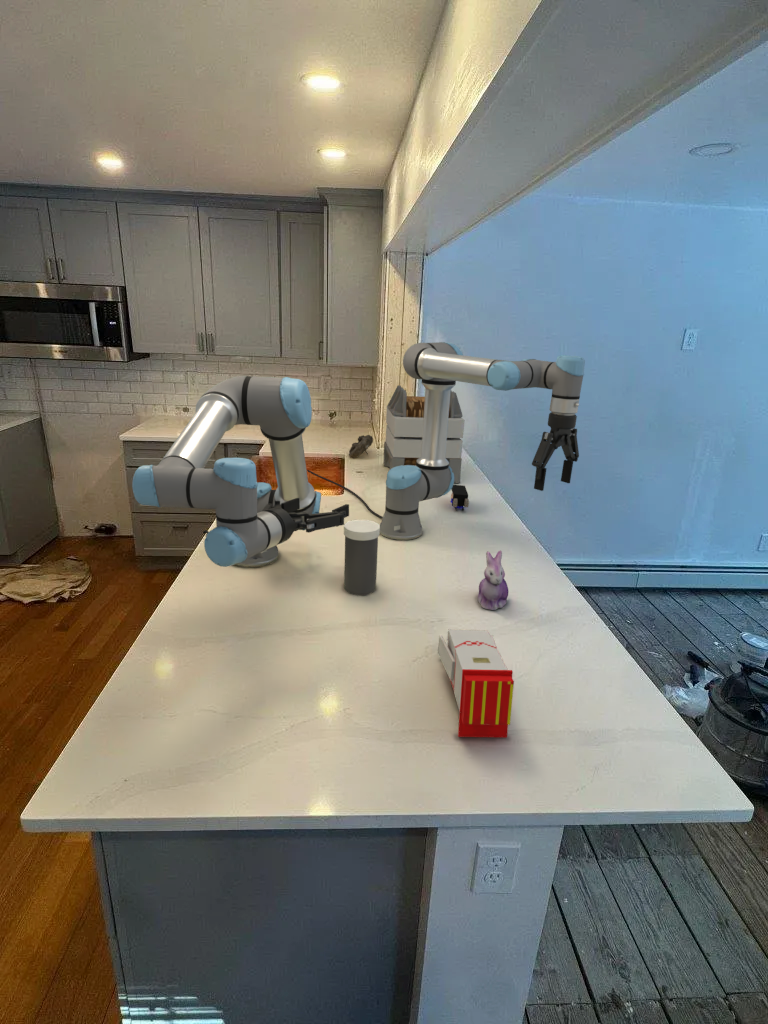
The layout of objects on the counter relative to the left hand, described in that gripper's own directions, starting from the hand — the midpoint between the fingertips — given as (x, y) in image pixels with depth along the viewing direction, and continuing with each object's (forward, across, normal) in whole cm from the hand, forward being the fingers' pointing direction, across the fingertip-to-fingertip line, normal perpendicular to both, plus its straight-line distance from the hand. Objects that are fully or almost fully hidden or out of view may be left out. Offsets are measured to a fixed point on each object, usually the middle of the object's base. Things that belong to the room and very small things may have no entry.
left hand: (322, 506), depth 135 cm
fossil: (+157, -71, -14) cm, 173 cm away
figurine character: (+103, +2, -23) cm, 105 cm away
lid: (+20, 0, -10) cm, 22 cm away
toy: (-9, +41, -33) cm, 53 cm away
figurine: (+31, +35, -30) cm, 55 cm away
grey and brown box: (+140, -30, -18) cm, 145 cm away
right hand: (+56, +44, -1) cm, 71 cm away
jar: (+21, -1, -28) cm, 35 cm away
